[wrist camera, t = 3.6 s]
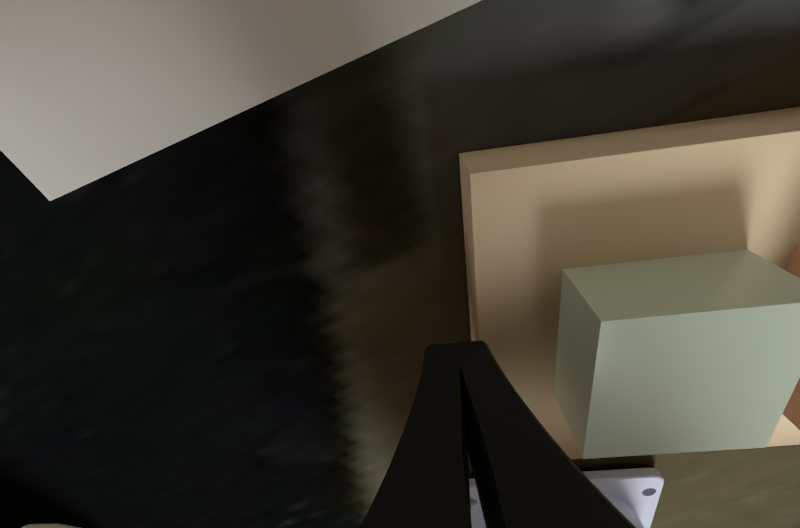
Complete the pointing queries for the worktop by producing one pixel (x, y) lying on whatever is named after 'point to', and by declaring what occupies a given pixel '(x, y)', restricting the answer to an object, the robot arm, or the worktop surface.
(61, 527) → the white cup
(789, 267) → the terracotta tile
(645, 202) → the wooden board
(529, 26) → the worktop surface
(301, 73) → the kitchen cleaver
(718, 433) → the sage tile
